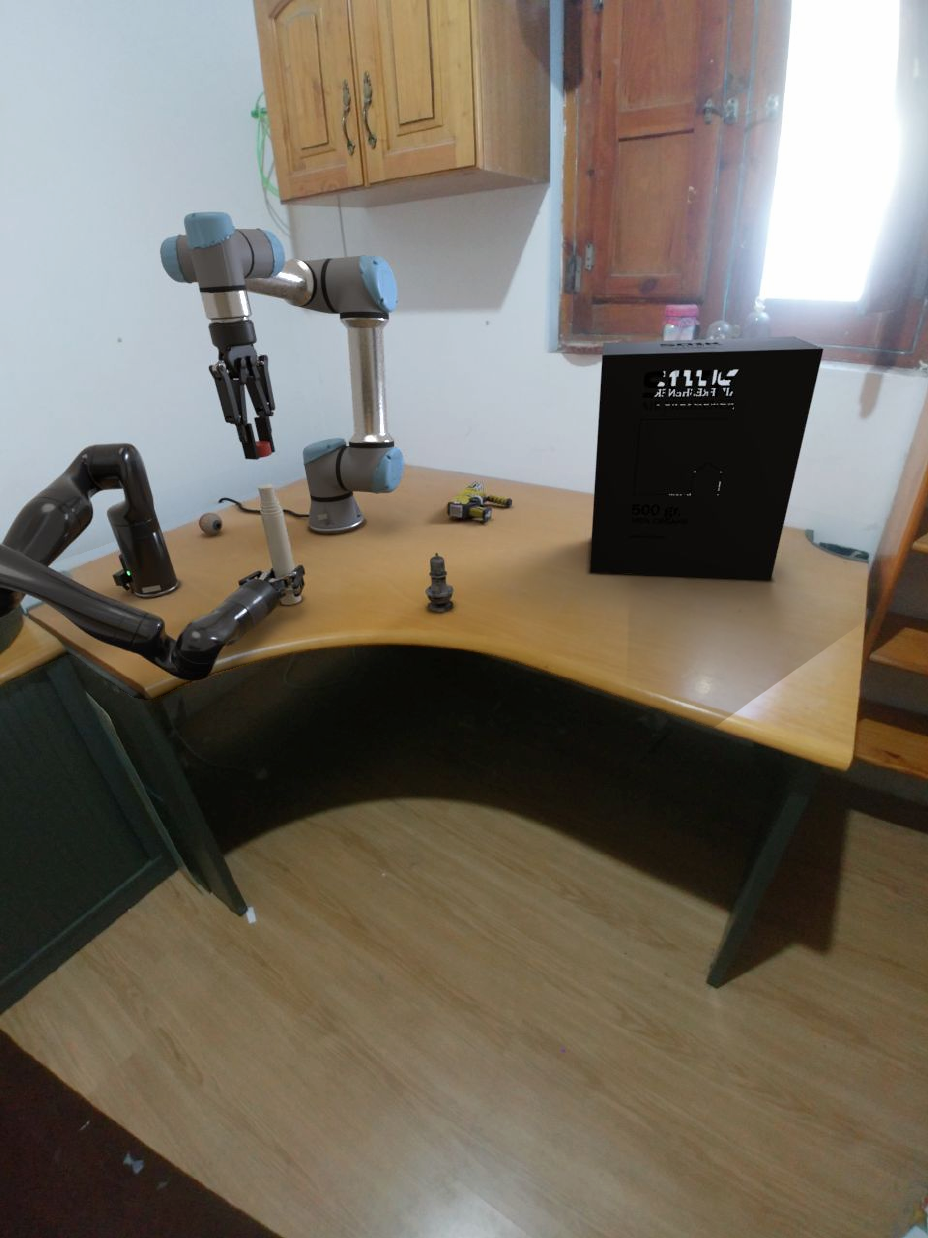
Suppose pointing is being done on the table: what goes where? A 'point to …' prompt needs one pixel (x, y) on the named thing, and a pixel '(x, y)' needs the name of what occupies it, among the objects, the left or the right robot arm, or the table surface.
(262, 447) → the cap
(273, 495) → the bottle
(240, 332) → the right robot arm
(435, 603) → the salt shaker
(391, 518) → the table surface
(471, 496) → the toy gun
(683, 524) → the cardboard box
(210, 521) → the eyeball
